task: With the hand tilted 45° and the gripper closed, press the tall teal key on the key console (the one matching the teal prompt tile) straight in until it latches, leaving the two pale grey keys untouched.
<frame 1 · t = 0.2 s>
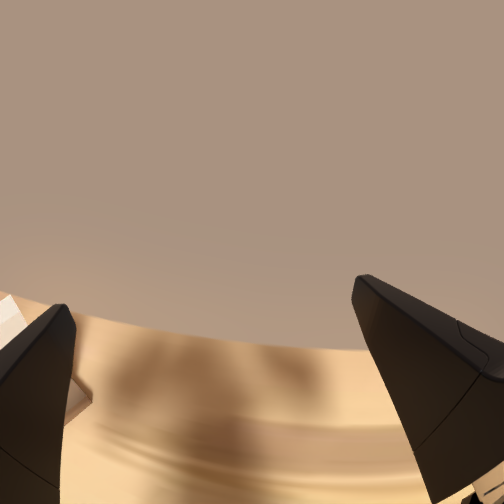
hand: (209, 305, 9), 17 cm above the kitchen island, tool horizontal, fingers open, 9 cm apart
grey key 1: (20, 357, 18), point 6 cm above the kitchen island, slide at 0.0 cm
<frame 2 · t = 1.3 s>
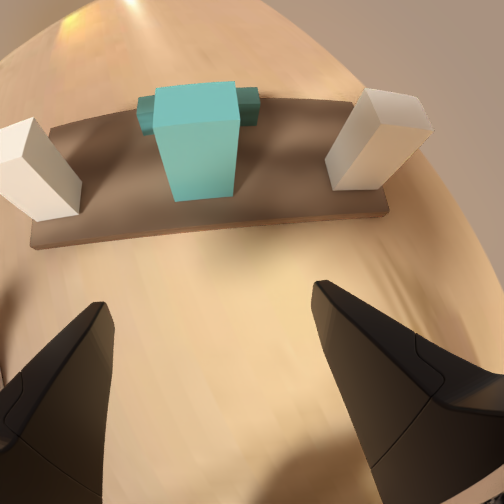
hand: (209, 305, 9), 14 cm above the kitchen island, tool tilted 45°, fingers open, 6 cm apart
key console: (203, 190, 24), on the kitchen island
grey key 1: (373, 145, 20), point 6 cm above the kitchen island, slide at 0.0 cm
grey key 2: (33, 177, 17), point 6 cm above the kitchen island, slide at 0.0 cm
teal key: (199, 148, 19), point 6 cm above the kitchen island, slide at 0.0 cm
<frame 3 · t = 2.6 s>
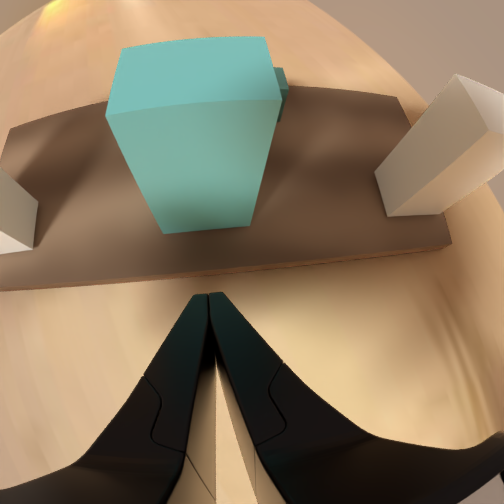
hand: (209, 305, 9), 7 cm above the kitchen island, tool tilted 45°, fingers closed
key console: (205, 214, 17), on the kitchen island
grey key 1: (449, 157, 13), point 6 cm above the kitchen island, slide at 0.0 cm
teal key: (199, 154, 11), point 6 cm above the kitchen island, slide at 0.0 cm
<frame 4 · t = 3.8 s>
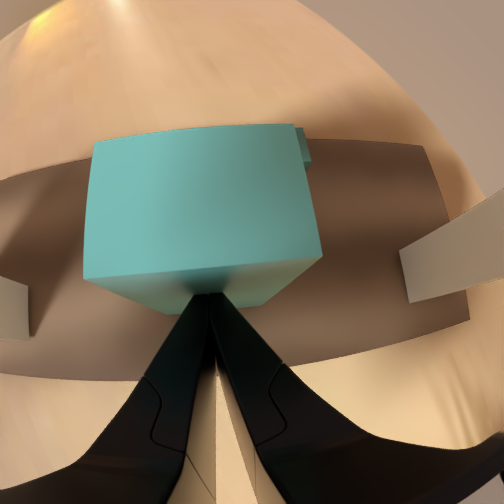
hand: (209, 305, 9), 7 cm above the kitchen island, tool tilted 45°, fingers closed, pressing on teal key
key console: (213, 305, 15), on the kitchen island
grey key 1: (484, 250, 11), point 6 cm above the kitchen island, slide at 0.0 cm
teal key: (205, 253, 10), point 6 cm above the kitchen island, slide at 1.1 cm, touching gripper
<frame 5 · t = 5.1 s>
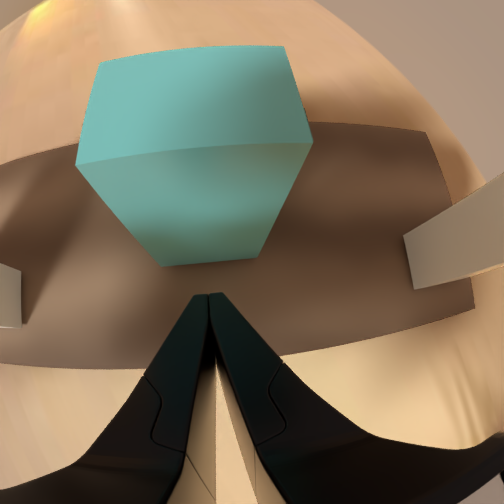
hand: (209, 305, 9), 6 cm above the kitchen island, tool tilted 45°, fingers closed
key console: (212, 290, 15), on the kitchen island
grey key 1: (491, 234, 11), point 6 cm above the kitchen island, slide at 0.0 cm
teal key: (200, 187, 10), point 6 cm above the kitchen island, slide at 2.6 cm
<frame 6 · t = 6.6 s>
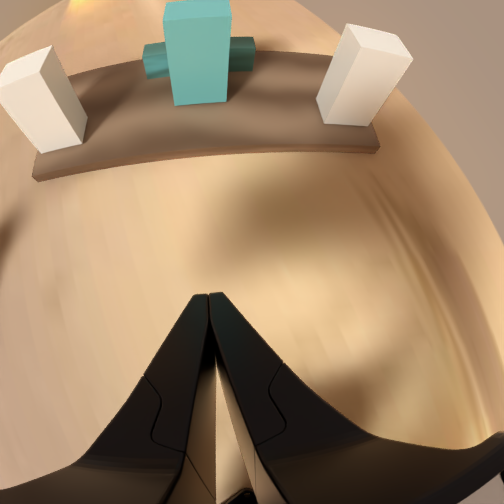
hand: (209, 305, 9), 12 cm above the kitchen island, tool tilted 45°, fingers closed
key console: (201, 123, 24), on the kitchen island
grey key 1: (359, 79, 20), point 6 cm above the kitchen island, slide at 0.0 cm
grey key 2: (43, 104, 17), point 6 cm above the kitchen island, slide at 0.0 cm
teal key: (198, 54, 19), point 6 cm above the kitchen island, slide at 2.6 cm
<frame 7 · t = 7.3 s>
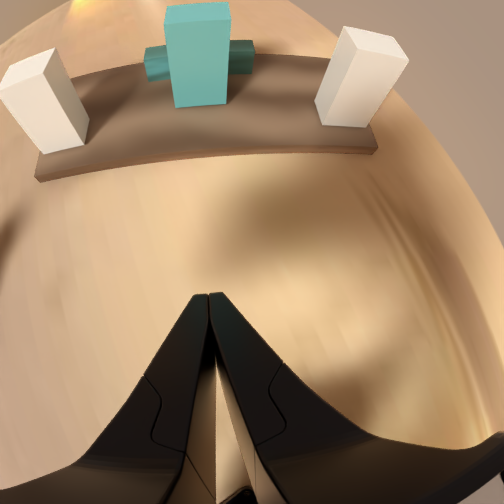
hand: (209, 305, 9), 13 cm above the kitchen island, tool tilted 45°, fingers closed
key console: (201, 125, 25), on the kitchen island
grey key 1: (357, 81, 21), point 6 cm above the kitchen island, slide at 0.0 cm
grey key 2: (46, 105, 17), point 6 cm above the kitchen island, slide at 0.0 cm
teal key: (198, 56, 20), point 6 cm above the kitchen island, slide at 2.6 cm
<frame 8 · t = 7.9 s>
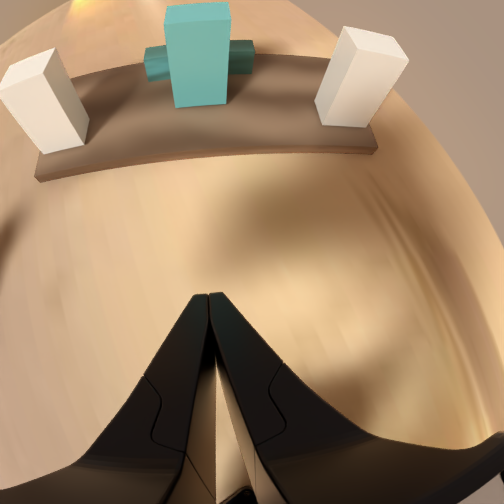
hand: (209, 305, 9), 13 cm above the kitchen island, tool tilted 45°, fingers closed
key console: (201, 125, 25), on the kitchen island
grey key 1: (357, 81, 21), point 6 cm above the kitchen island, slide at 0.0 cm
grey key 2: (46, 105, 17), point 6 cm above the kitchen island, slide at 0.0 cm
teal key: (198, 56, 20), point 6 cm above the kitchen island, slide at 2.6 cm
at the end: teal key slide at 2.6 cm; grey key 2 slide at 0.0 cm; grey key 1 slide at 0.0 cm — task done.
